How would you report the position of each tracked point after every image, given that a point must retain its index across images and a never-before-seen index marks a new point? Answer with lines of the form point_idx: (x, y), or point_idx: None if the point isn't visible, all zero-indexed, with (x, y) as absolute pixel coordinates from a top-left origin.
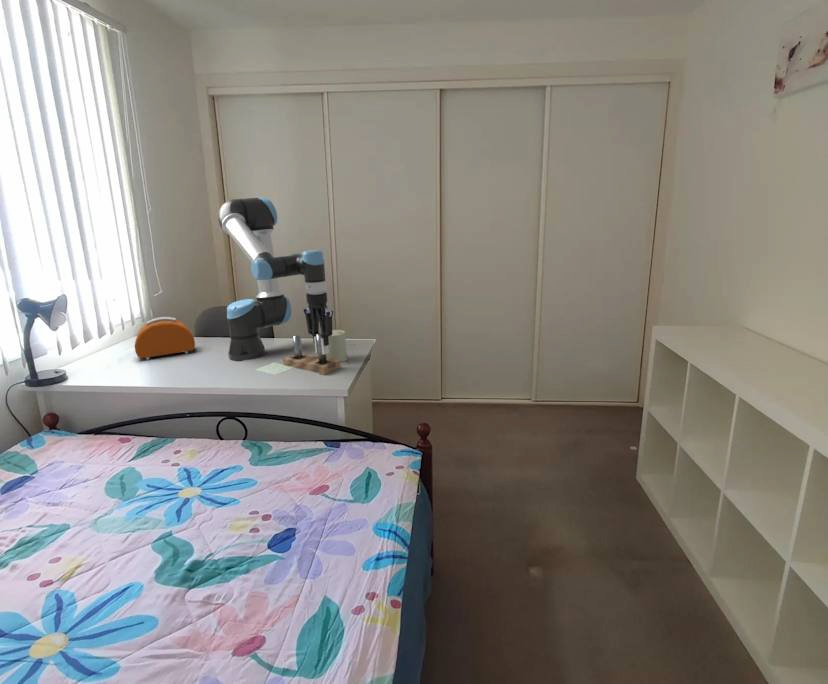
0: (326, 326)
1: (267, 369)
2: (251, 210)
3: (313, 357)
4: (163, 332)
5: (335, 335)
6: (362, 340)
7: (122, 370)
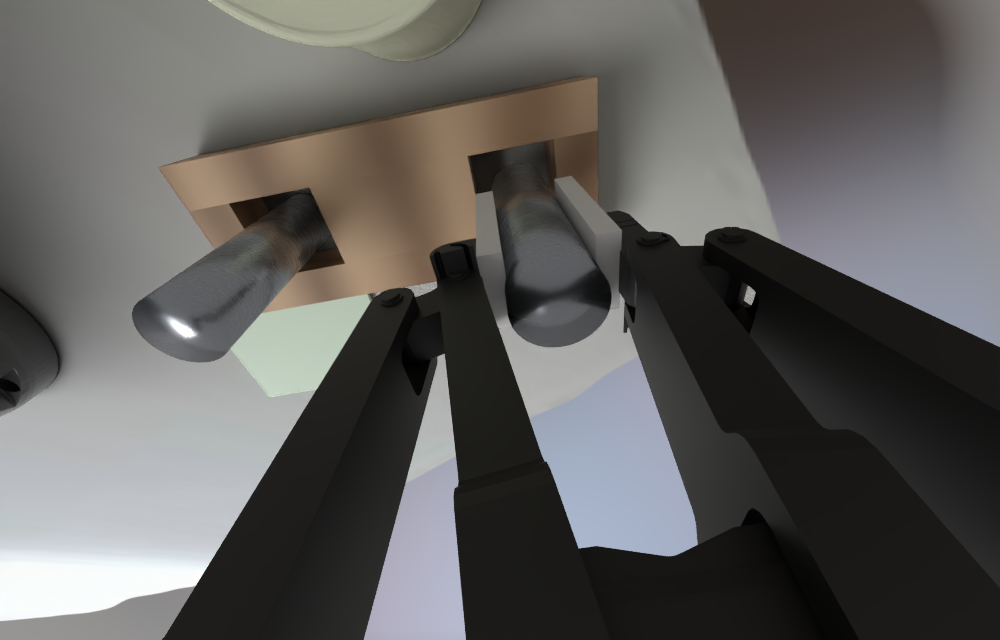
0: (815, 402)
1: (302, 366)
2: None
3: (366, 169)
4: None
5: None
6: None
7: (24, 580)
